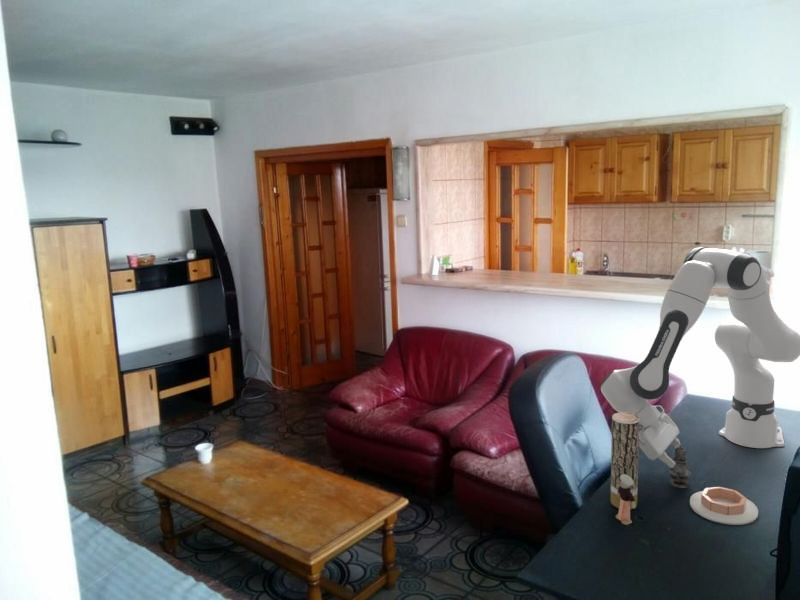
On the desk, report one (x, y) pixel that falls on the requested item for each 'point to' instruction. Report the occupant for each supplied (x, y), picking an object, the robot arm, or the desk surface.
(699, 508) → the saucer
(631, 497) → the grandmother figurine
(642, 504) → the desk surface
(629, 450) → the wooden cylinder
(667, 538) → the desk surface
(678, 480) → the grey chess piece
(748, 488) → the desk surface
